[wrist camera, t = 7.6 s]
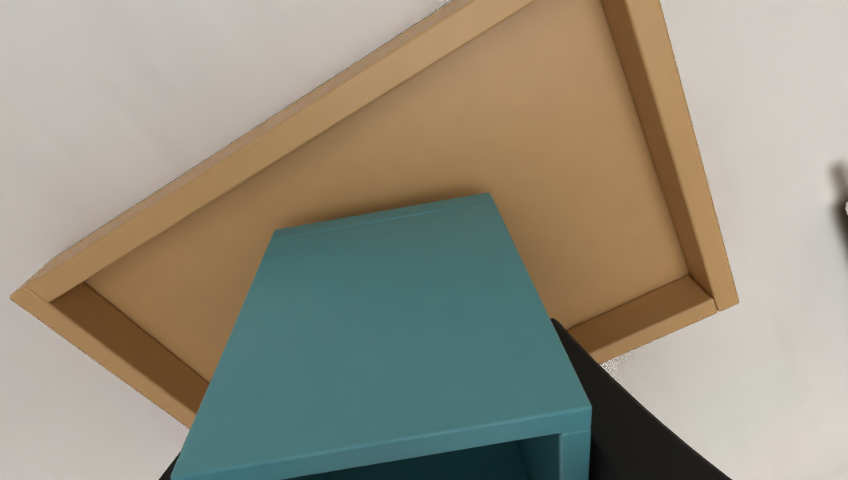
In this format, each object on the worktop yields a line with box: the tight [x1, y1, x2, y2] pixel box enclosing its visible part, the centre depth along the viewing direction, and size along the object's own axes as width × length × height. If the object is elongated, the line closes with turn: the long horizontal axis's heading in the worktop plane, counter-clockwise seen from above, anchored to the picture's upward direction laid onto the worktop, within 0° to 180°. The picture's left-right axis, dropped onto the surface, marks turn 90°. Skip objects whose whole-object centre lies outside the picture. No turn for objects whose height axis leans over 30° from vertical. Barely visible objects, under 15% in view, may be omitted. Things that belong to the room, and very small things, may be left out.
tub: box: [171, 193, 592, 480], centre depth 9 cm, size 5×5×6 cm
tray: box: [10, 0, 739, 429], centre depth 12 cm, size 15×10×2 cm
